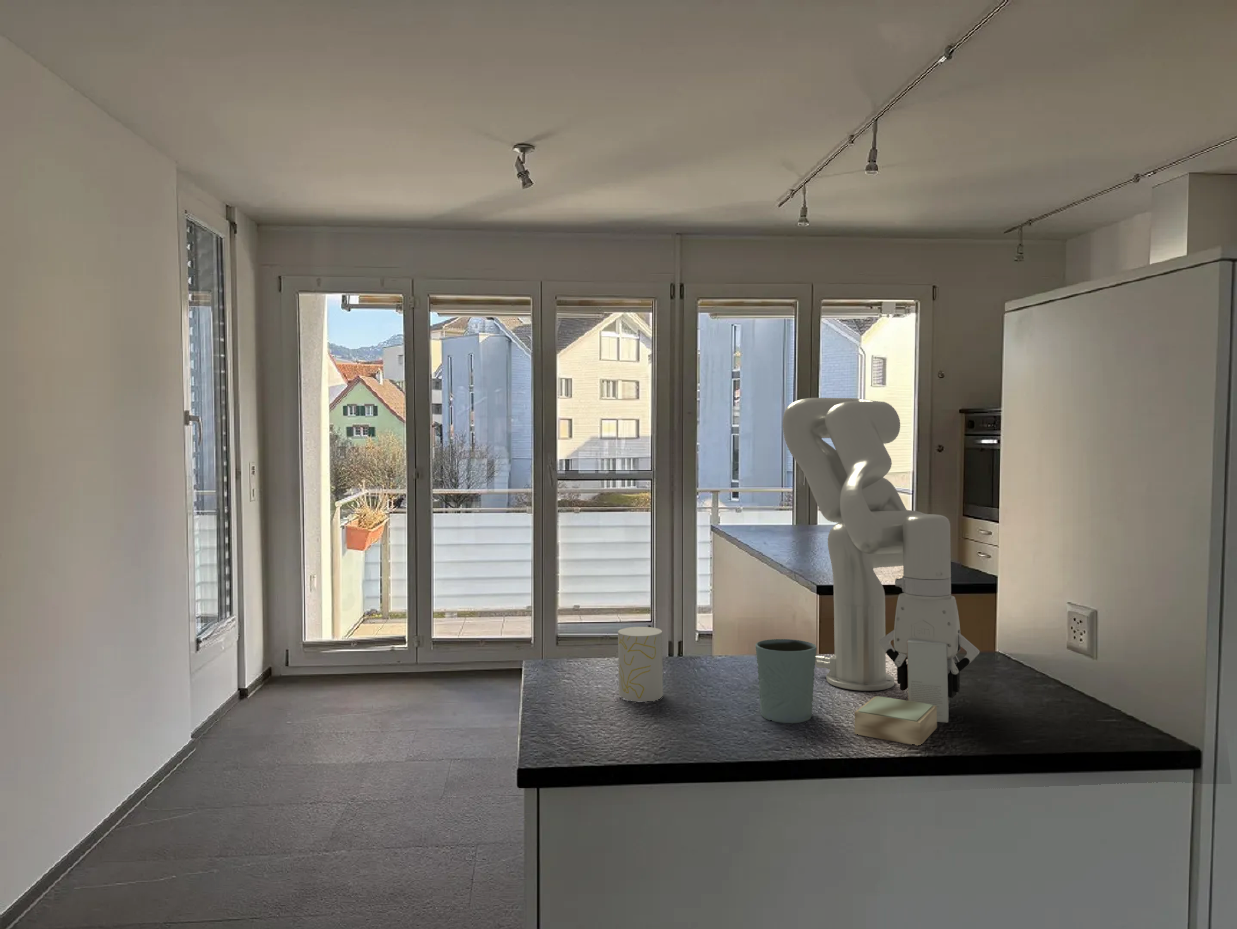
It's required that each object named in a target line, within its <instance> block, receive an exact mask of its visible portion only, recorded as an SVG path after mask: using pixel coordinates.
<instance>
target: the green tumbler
mask: <svg viewBox="0 0 1237 929" xmlns="http://www.w3.org/2000/svg"><path fill="white" fill-rule="evenodd" d="M754 646H755V653H756V654H755V656H756V663H757V679H758V693H759V694H758V695H759V708H760V714H761V716H762V718H764V719H765V720H768V721H770V720H772V721H771V722H774V723H775V722H776V723H779V724H780V723H781V724H782V723H783V724H798V723H803V722H807V721H809V720H811V718H812V715H813V699H814V687H815V686H814V684H815V667H816V664H815V659H816V656H817V645H816V644H815V643H813V642H810V641H804V640H801V639H800V640H799V639H788V638H776V639H775V638H773V639H764V640H760V641H758V642H756V643H755V645H754Z"/></svg>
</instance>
